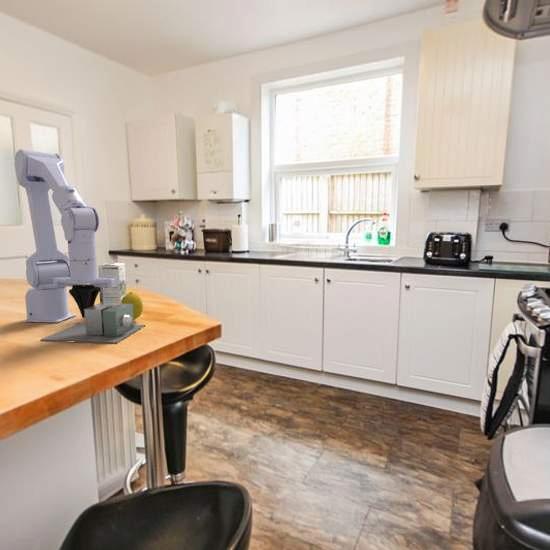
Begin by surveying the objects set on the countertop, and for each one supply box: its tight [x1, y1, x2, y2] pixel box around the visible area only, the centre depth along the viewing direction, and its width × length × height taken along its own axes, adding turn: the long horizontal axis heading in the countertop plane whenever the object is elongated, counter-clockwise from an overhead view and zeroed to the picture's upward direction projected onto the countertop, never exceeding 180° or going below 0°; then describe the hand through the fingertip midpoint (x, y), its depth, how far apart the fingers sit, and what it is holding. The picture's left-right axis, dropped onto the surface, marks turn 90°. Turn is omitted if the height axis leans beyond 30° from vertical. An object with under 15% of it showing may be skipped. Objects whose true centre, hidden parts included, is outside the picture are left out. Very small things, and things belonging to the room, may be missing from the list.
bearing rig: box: [103, 304, 135, 338], centre depth 90 cm, size 8×8×6 cm
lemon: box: [121, 291, 144, 321], centre depth 101 cm, size 6×6×8 cm
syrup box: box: [97, 262, 127, 306], centre depth 109 cm, size 6×6×14 cm
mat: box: [40, 322, 146, 344], centre depth 91 cm, size 18×14×1 cm
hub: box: [84, 303, 115, 335], centre depth 90 cm, size 4×6×6 cm, turn 174°
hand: (87, 316), depth 91 cm, fingers closed
